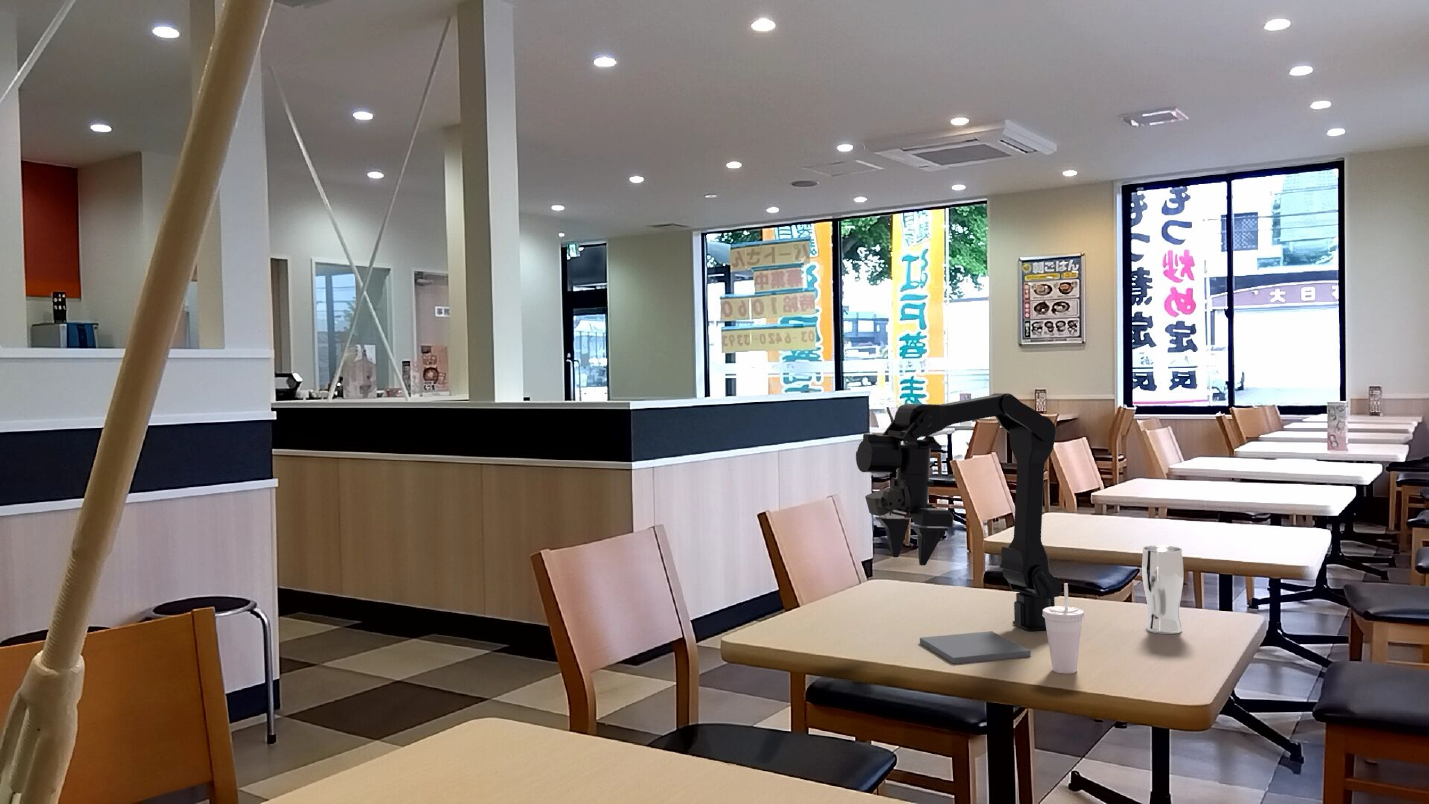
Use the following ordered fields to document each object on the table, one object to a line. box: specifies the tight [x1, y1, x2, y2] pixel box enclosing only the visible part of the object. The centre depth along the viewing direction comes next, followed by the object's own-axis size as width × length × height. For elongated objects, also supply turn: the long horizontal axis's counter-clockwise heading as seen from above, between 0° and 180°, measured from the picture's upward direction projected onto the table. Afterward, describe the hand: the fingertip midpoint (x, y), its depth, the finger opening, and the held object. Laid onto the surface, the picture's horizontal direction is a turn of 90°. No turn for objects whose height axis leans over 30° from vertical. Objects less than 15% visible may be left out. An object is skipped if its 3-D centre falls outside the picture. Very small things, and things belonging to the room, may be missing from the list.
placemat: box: [919, 630, 1031, 665], centre depth 183 cm, size 14×14×1 cm
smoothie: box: [1042, 582, 1085, 675], centre depth 168 cm, size 6×6×14 cm
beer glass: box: [1141, 545, 1185, 635], centre depth 191 cm, size 7×7×15 cm
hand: (908, 561), depth 187 cm, fingers open, 9 cm apart
